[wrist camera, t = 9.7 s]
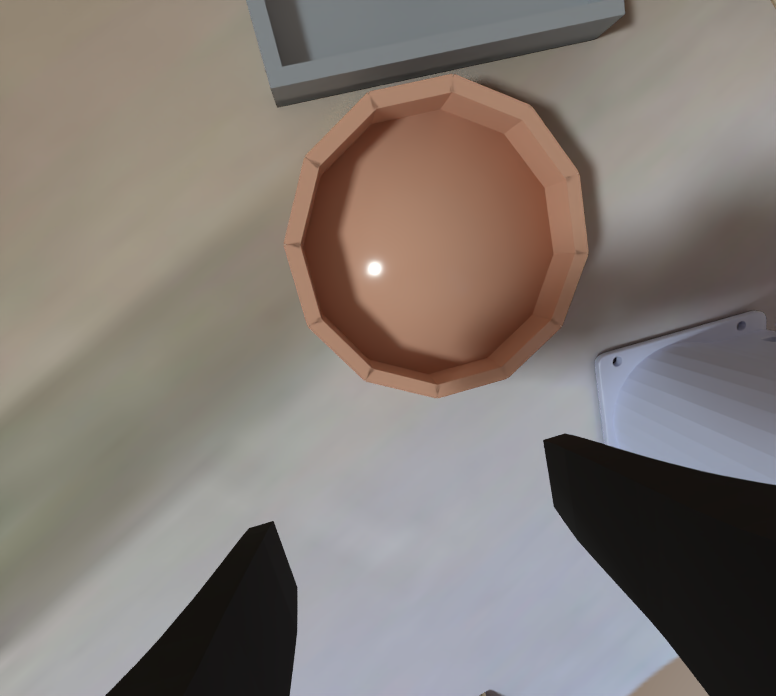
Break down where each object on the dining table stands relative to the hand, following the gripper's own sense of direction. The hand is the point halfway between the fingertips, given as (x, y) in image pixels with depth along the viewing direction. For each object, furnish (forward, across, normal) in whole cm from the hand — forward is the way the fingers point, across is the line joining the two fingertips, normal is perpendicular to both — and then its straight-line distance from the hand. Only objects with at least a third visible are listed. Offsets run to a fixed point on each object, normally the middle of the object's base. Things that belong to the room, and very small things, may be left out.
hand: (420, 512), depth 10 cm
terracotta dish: (+9, -4, -6) cm, 12 cm away
